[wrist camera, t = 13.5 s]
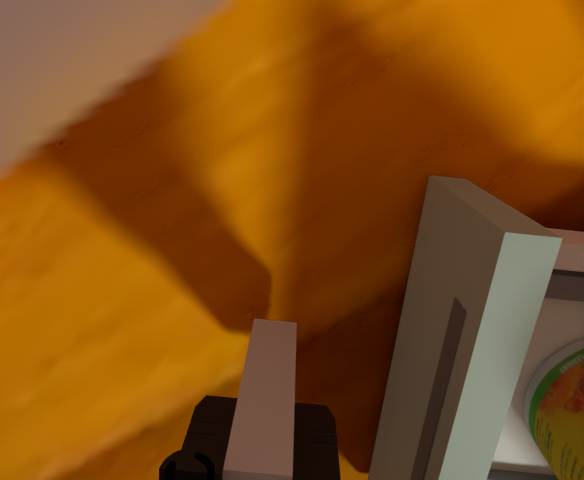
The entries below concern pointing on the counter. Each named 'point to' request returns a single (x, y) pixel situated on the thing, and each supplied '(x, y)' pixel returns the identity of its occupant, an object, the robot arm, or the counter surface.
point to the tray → (476, 338)
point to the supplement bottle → (559, 411)
